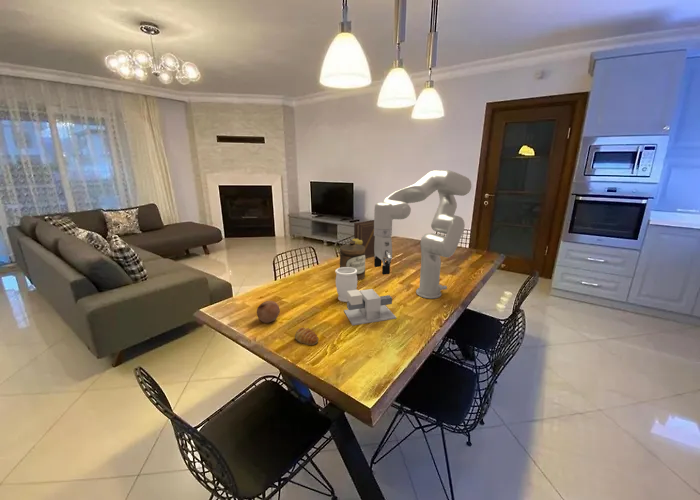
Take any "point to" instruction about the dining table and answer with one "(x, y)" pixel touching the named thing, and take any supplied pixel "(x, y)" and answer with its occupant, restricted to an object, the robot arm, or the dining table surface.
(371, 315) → the bearing block
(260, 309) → the onion
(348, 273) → the jar
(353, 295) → the block
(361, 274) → the wooden container
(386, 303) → the shaft
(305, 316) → the dining table surface
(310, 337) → the pastry
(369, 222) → the book
